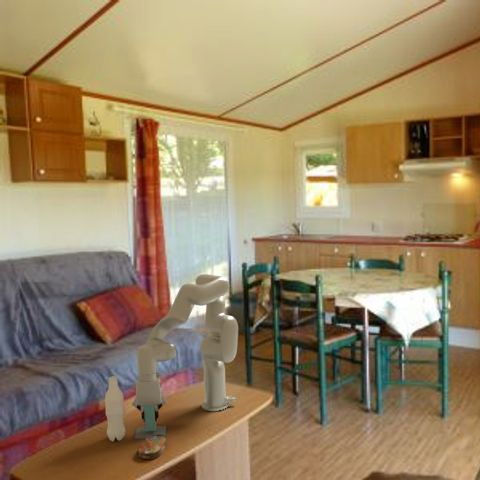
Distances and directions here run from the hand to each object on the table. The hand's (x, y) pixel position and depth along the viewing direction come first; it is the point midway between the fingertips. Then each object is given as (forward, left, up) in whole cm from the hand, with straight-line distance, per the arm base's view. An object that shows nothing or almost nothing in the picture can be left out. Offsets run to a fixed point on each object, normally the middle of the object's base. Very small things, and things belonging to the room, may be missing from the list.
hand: (150, 419), depth 213 cm
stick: (0, 0, -4) cm, 4 cm away
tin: (+2, +13, -5) cm, 14 cm away
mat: (0, 0, -6) cm, 6 cm away
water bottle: (+13, +3, -6) cm, 15 cm away
